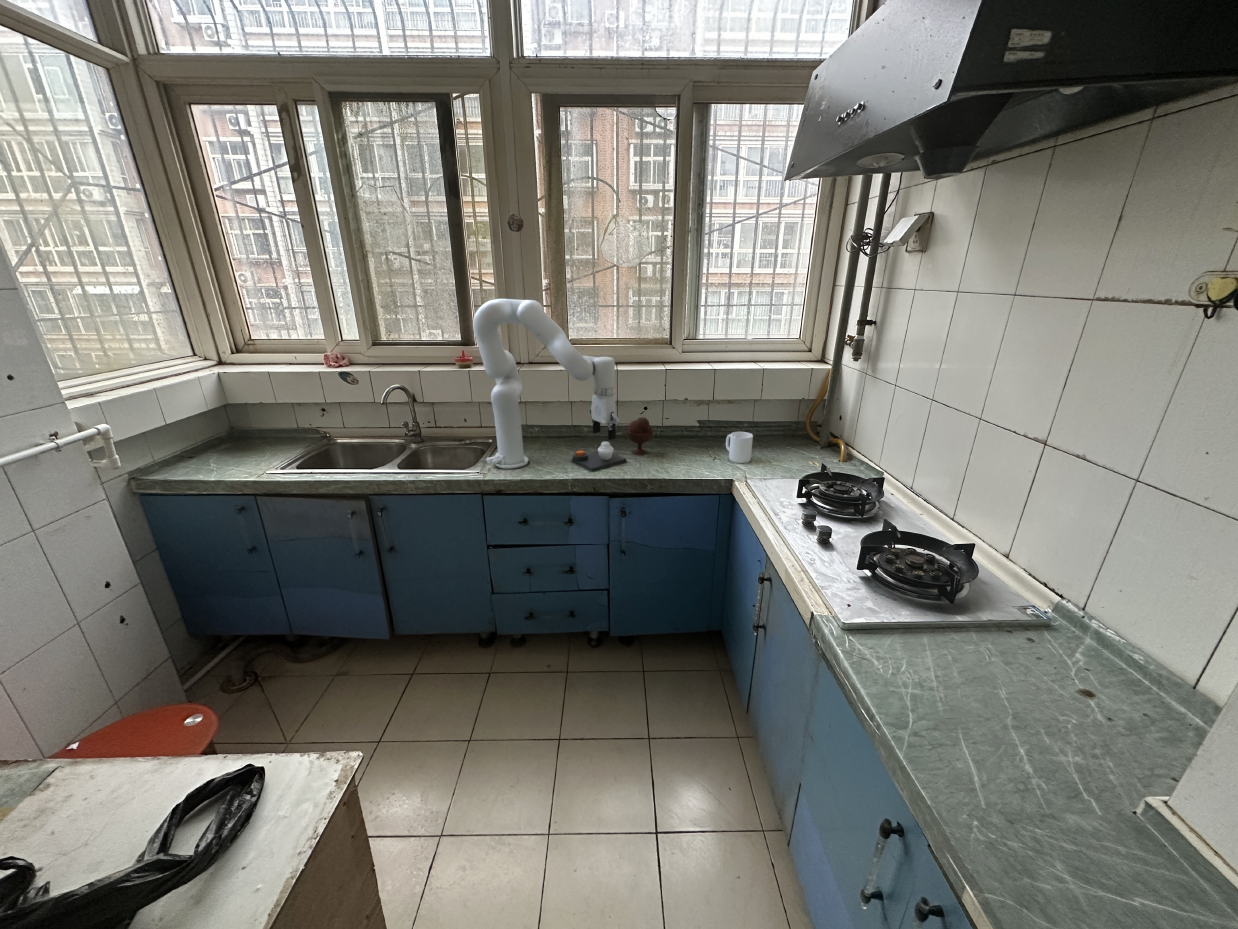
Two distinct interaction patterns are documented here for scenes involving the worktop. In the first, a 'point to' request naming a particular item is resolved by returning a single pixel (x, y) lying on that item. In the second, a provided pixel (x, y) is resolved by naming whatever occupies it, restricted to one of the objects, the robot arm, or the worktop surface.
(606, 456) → the muffin
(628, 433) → the ice cream bowl
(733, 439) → the cup
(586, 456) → the scale
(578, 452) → the button
